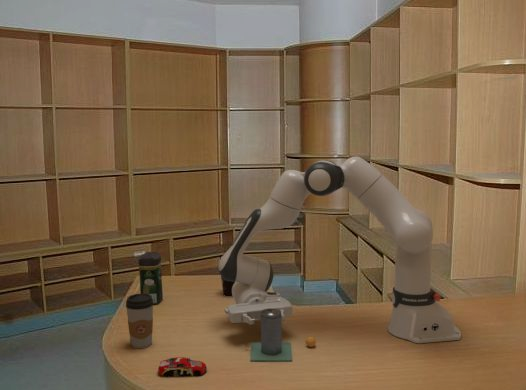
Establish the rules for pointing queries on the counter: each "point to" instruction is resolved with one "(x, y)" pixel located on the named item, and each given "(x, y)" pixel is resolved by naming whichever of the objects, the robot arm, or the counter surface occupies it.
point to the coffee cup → (140, 319)
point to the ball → (310, 341)
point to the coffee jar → (151, 275)
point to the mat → (281, 357)
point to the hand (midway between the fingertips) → (267, 320)
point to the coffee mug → (227, 287)
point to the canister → (271, 331)
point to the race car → (181, 367)
